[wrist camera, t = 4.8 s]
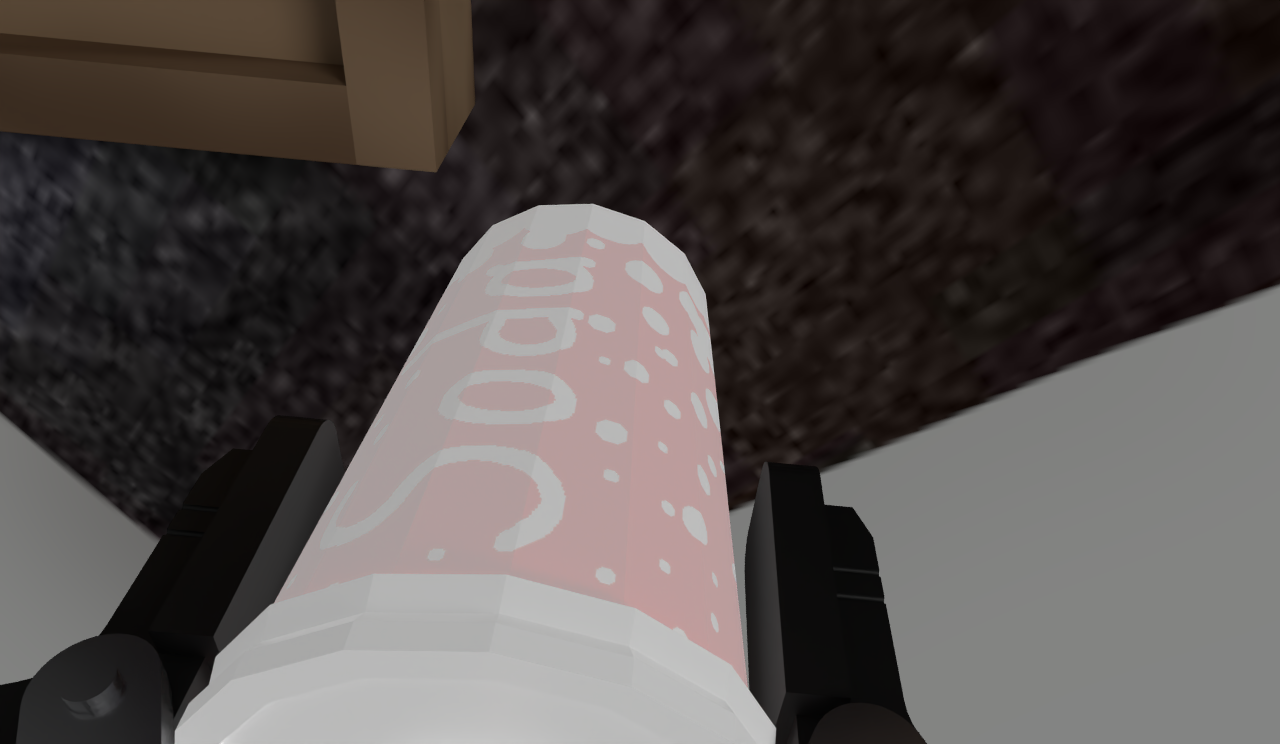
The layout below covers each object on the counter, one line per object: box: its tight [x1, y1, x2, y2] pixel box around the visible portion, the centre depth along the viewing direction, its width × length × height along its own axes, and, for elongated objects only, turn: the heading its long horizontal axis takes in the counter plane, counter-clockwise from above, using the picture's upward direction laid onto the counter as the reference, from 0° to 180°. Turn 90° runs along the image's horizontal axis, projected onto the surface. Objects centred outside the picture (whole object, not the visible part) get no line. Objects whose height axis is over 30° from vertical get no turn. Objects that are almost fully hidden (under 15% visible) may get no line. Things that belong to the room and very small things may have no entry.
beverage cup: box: [175, 204, 776, 744], centre depth 10 cm, size 6×6×14 cm
